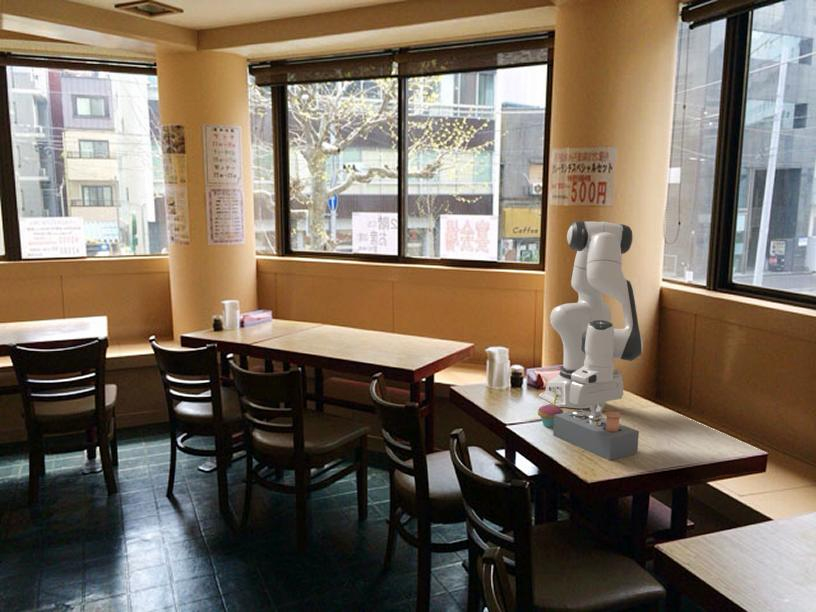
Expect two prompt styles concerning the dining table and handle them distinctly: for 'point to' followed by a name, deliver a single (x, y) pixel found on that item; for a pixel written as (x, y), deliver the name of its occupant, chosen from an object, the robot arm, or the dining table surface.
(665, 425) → the dining table surface
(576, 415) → the steel plug
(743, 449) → the dining table surface
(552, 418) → the cupcake
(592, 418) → the steel plug
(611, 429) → the terracotta plug
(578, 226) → the robot arm
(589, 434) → the slate block
